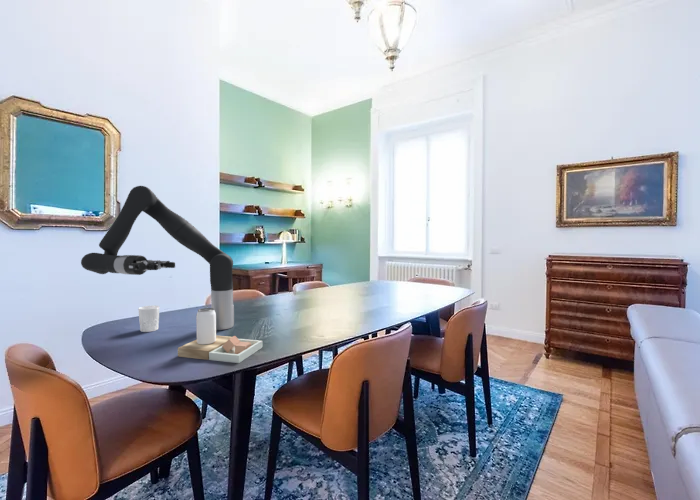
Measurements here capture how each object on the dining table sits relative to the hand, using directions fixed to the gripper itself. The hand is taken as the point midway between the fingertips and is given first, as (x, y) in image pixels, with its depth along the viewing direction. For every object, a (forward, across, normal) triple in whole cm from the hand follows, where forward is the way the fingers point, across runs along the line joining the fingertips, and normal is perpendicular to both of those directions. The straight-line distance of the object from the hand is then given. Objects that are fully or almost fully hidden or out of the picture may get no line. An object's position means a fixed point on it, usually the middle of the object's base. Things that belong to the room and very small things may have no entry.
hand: (166, 266), depth 128 cm
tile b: (+33, -2, +27) cm, 42 cm away
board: (+19, -2, +30) cm, 36 cm away
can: (+19, -2, +27) cm, 33 cm away
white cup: (-22, +14, +30) cm, 40 cm away
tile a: (+30, -2, +28) cm, 41 cm away
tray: (+31, -2, +30) cm, 43 cm away
